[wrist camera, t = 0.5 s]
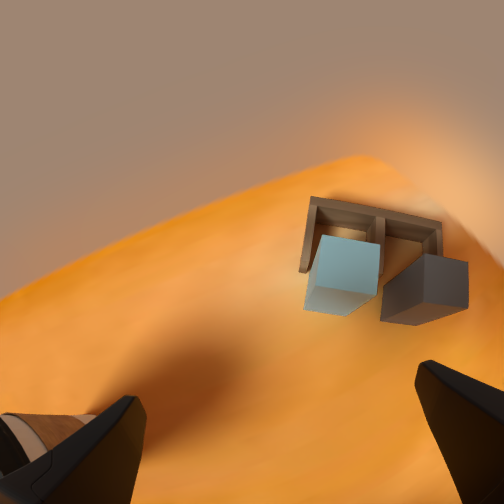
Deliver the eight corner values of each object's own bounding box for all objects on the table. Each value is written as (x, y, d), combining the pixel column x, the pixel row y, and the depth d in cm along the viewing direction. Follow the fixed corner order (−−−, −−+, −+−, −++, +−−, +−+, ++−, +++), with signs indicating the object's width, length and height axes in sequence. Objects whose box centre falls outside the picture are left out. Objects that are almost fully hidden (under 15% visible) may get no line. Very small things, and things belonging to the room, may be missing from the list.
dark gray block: (416, 325, 21) (468, 308, 14) (380, 321, 22) (423, 302, 14) (418, 291, 22) (467, 262, 15) (383, 286, 23) (424, 253, 15)
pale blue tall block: (345, 316, 22) (376, 295, 15) (303, 309, 23) (315, 285, 15) (350, 280, 23) (380, 244, 16) (309, 273, 24) (322, 234, 16)
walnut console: (427, 292, 22) (443, 284, 19) (298, 272, 24) (301, 260, 21) (427, 236, 24) (441, 222, 21) (307, 213, 26) (310, 196, 23)
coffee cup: (105, 388, 22) (-32, 389, 8) (153, 469, 19) (41, 539, 5) (53, 416, 21) (-65, 420, 7) (93, 488, 18) (-13, 532, 4)
